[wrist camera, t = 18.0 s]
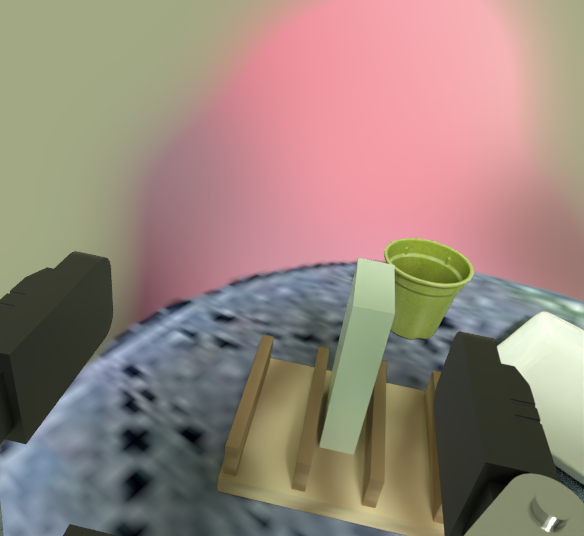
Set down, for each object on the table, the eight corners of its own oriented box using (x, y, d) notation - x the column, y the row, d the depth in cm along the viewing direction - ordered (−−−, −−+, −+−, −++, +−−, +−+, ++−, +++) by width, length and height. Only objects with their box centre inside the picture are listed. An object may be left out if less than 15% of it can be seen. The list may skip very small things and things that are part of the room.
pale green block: (357, 396, 48) (394, 265, 41) (353, 454, 43) (395, 314, 35) (327, 390, 48) (358, 257, 41) (319, 447, 43) (353, 305, 36)
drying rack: (432, 405, 51) (446, 369, 48) (444, 544, 39) (463, 506, 36) (257, 367, 52) (262, 330, 50) (216, 490, 40) (220, 450, 38)
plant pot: (432, 364, 56) (457, 296, 51) (353, 325, 60) (370, 258, 55) (460, 323, 63) (484, 260, 58) (388, 290, 67) (405, 229, 62)
